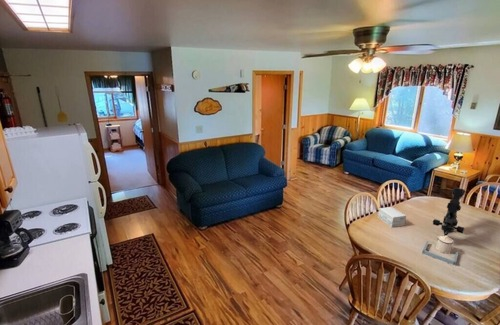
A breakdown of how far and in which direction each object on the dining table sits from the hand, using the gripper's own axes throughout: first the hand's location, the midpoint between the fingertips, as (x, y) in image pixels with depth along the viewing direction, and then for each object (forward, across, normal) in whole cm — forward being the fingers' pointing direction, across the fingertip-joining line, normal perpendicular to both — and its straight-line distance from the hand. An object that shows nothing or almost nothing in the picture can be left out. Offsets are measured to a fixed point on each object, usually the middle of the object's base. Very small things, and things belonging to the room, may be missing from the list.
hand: (444, 236), depth 198 cm
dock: (+15, 0, -5) cm, 16 cm away
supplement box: (-2, -39, +13) cm, 41 cm away
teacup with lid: (+10, 0, +1) cm, 10 cm away
